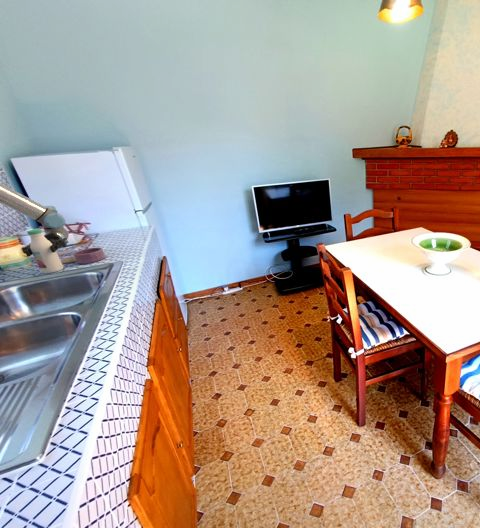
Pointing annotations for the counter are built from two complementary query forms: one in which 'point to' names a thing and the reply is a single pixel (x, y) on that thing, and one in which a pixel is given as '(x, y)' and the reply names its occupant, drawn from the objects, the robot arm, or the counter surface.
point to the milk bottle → (44, 252)
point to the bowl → (89, 255)
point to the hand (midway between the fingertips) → (39, 251)
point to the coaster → (68, 260)
